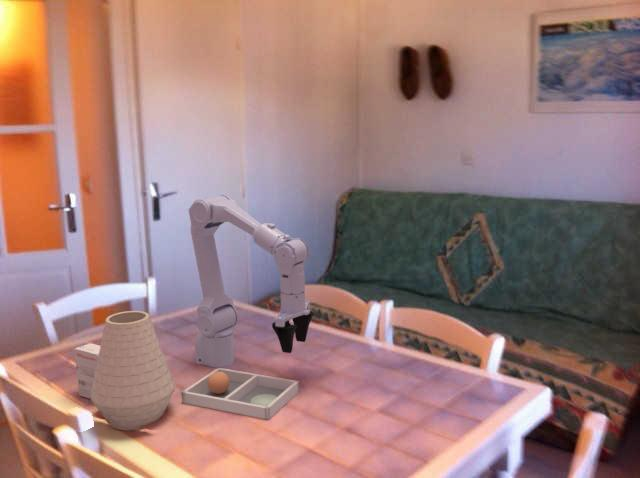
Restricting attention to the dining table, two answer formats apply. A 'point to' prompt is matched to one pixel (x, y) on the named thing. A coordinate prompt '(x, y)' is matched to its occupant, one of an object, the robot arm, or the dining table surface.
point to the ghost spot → (263, 399)
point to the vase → (131, 373)
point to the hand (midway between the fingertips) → (294, 346)
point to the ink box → (86, 367)
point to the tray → (242, 393)
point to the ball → (218, 382)
